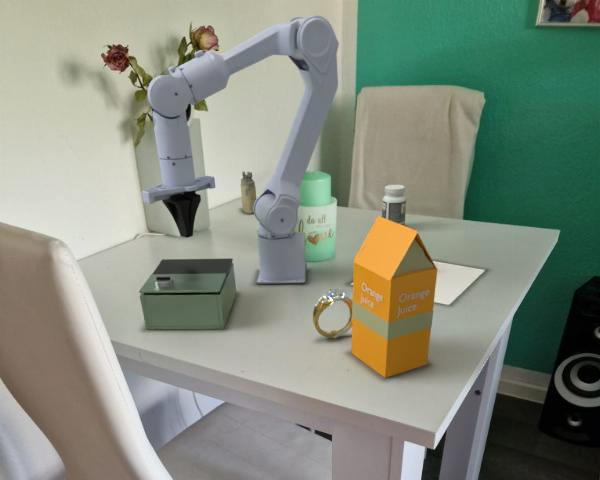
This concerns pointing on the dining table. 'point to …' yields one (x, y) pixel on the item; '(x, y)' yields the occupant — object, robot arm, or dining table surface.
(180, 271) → the lid
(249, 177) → the brown furry upright figure
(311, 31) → the robot arm
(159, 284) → the white disc with bar
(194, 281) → the washer
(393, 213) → the pill bottle
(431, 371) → the dining table surface
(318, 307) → the gold ring
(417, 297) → the orange juice
